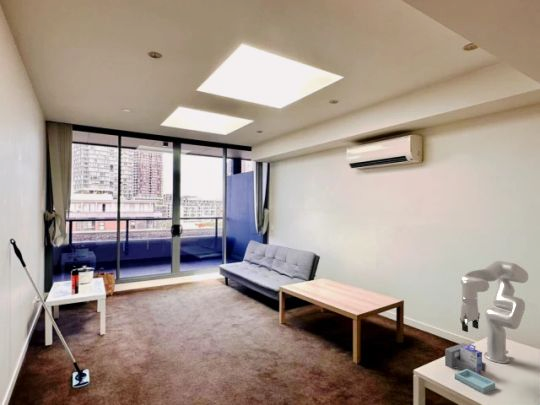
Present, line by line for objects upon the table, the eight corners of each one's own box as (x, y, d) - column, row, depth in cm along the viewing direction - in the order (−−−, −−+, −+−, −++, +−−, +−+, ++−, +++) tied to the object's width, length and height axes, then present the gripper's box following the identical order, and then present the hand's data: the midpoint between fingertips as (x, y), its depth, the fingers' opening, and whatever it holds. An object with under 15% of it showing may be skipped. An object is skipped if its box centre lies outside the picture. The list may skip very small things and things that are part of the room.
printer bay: (463, 358, 194) (463, 343, 194) (489, 370, 180) (489, 353, 180) (445, 365, 186) (445, 349, 186) (470, 378, 172) (470, 360, 172)
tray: (466, 373, 177) (466, 368, 177) (495, 388, 163) (495, 382, 163) (454, 378, 172) (454, 373, 172) (483, 393, 158) (483, 388, 158)
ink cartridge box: (482, 372, 178) (482, 348, 178) (477, 375, 175) (477, 350, 175) (465, 364, 186) (465, 341, 186) (459, 367, 184) (459, 343, 184)
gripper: (472, 296, 187) (472, 324, 188) (454, 301, 180) (454, 330, 180) (485, 300, 181) (485, 329, 181) (467, 305, 173) (467, 335, 174)
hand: (470, 329), depth 181 cm, fingers open, 9 cm apart
